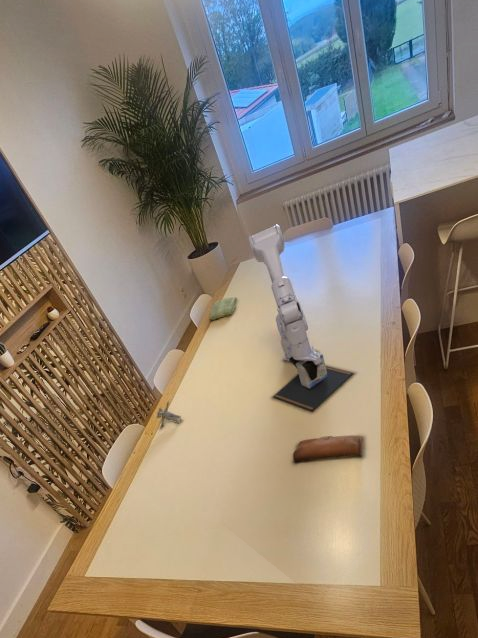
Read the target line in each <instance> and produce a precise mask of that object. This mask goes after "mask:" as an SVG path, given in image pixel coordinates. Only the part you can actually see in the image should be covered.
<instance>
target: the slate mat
mask: <svg viewBox="0 0 478 638" xmlns="http://www.w3.org/2000/svg"><path fill="white" fill-rule="evenodd" d="M325 366H326V371H327V376H328V377H326V378H325V379H323V380H322V381H321V382H319V383H318V384H316V385H315V386H313V387H312V388H311V389H309V388H307V387H305V386H303V385H302V384H301V380H300V377H299V373H298V374H297V375H296V376H294V377H293V378H292V379H291V380H290V381H289V382H288V383H286V384H285V385H284V386H283V387H282V388H281V389H280V390H278V391H277V393H275V394H274V395H273V396H272V398H274V399H276V400H279V401H281V402H284V403H287V404H289V405H293V406H294V407H298V408H301V409H302V410H303V409H304V410H306V411H308V412H312V413H313V412H314V411H315V410H317V409H318V407H319V406H321V405H322V404H323V403H324V402H325V401H326V400H327V399H328V398H330V396H332V394H334V392H336V391H337V390H338V389H339V388H340V387H341V386H342V385H343V384H345V383H346V381H347V380H348V379H349V378H351V377H352V376H353V374H354V373H353V372H351V371H347V370H343V369H339V368H334V367H332V366H328V365H325Z"/></svg>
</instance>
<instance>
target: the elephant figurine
mask: <svg viewBox="0 0 478 638" xmlns="http://www.w3.org/2000/svg"><path fill="white" fill-rule="evenodd" d="M169 405H170V401H167V403H166V406H165V408H164V409H163V408H161V407H159V408H158V411H157V413H156V414H157V415H156V419H161V423H160V428H161V429H162V428H163V426H164V422H165V419H166V420H167V421H172V422H175V423H178V424H180V423H181V418H182V416H181V415H178V414H175V413H173V412H171V411H168V408H169Z"/></svg>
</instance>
